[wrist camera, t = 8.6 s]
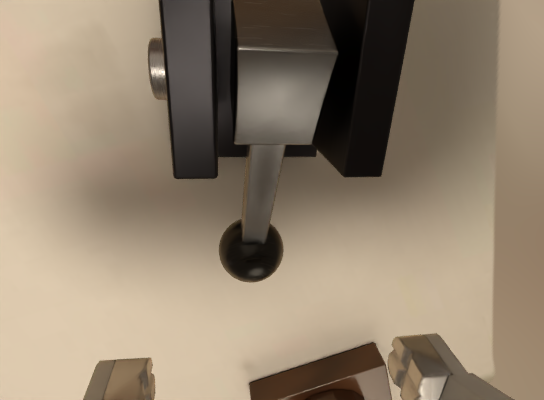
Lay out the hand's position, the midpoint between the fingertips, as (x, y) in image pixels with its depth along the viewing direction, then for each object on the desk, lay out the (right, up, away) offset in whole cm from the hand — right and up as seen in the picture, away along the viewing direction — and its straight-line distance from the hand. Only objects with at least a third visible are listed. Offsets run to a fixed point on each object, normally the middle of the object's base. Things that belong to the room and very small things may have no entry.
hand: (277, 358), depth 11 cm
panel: (+4, -12, +19) cm, 22 cm away
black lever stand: (-2, +13, +6) cm, 14 cm away
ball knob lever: (-1, +7, +2) cm, 7 cm away
